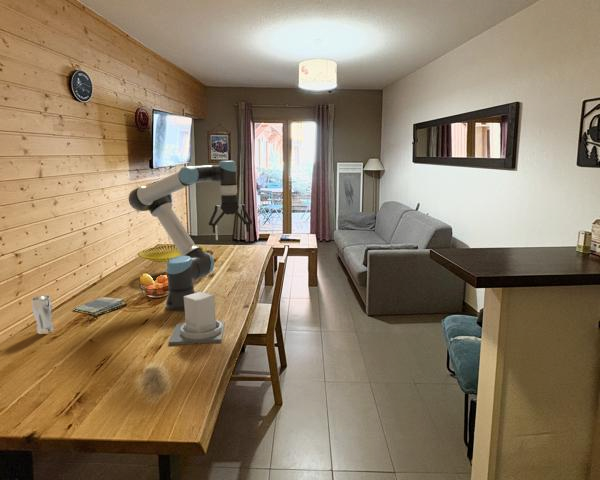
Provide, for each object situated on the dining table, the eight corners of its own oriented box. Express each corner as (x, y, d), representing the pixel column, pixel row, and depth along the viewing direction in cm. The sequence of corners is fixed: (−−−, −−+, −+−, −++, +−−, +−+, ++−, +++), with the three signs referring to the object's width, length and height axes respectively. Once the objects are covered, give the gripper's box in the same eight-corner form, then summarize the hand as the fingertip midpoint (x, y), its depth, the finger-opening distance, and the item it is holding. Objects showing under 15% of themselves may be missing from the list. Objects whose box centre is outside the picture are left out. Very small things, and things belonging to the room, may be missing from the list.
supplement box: (217, 330, 179) (215, 294, 176) (198, 337, 173) (196, 300, 170) (203, 324, 185) (201, 290, 182) (185, 331, 179) (182, 296, 176)
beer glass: (58, 328, 187) (53, 294, 184) (49, 335, 180) (44, 300, 177) (41, 329, 187) (36, 295, 184) (32, 335, 180) (27, 300, 177)
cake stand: (221, 269, 278) (219, 246, 275) (178, 287, 242) (176, 261, 239) (170, 264, 295) (169, 242, 292) (124, 280, 259) (121, 255, 256)
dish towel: (71, 311, 209) (70, 305, 208) (103, 300, 224) (103, 294, 224) (97, 318, 200) (97, 311, 200) (129, 305, 216) (128, 299, 215)
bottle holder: (168, 345, 169) (167, 337, 168) (177, 326, 187) (176, 319, 187) (221, 342, 170) (220, 334, 170) (224, 323, 189) (224, 316, 188)
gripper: (201, 195, 200) (203, 241, 204) (256, 194, 202) (257, 239, 207) (202, 194, 208) (205, 238, 212) (256, 192, 210) (257, 236, 214)
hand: (231, 239), depth 209 cm, fingers open, 13 cm apart
